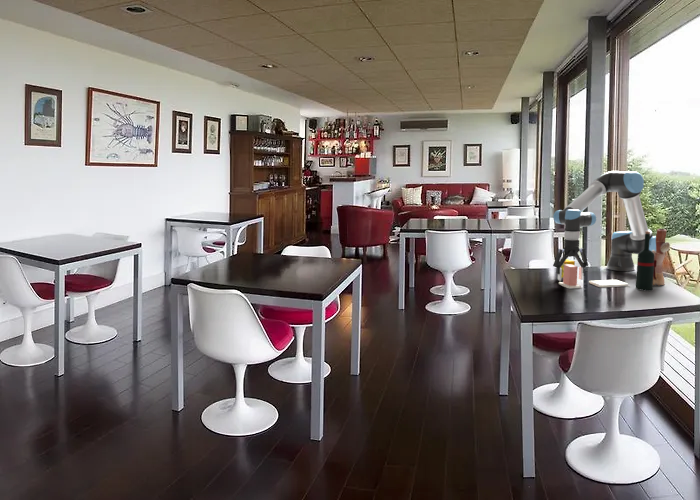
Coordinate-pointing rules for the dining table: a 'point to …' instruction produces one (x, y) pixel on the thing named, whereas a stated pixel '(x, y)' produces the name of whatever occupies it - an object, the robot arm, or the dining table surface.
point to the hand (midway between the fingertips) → (570, 279)
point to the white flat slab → (608, 283)
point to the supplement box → (566, 264)
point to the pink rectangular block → (570, 277)
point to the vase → (660, 256)
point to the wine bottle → (645, 267)
